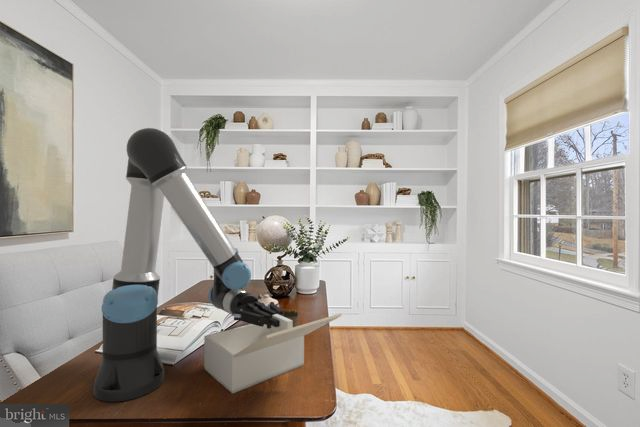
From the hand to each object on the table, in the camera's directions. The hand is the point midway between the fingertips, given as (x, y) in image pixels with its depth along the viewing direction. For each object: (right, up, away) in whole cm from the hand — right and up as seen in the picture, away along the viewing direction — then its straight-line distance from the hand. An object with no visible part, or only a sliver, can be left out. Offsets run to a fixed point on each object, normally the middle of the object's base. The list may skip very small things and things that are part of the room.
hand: (290, 326), depth 80 cm
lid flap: (0, -2, 0) cm, 2 cm away
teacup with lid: (-12, -15, +44) cm, 48 cm away
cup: (-4, -15, +34) cm, 37 cm away
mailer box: (-11, -15, +12) cm, 22 cm away
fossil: (-15, -14, +58) cm, 62 cm away
